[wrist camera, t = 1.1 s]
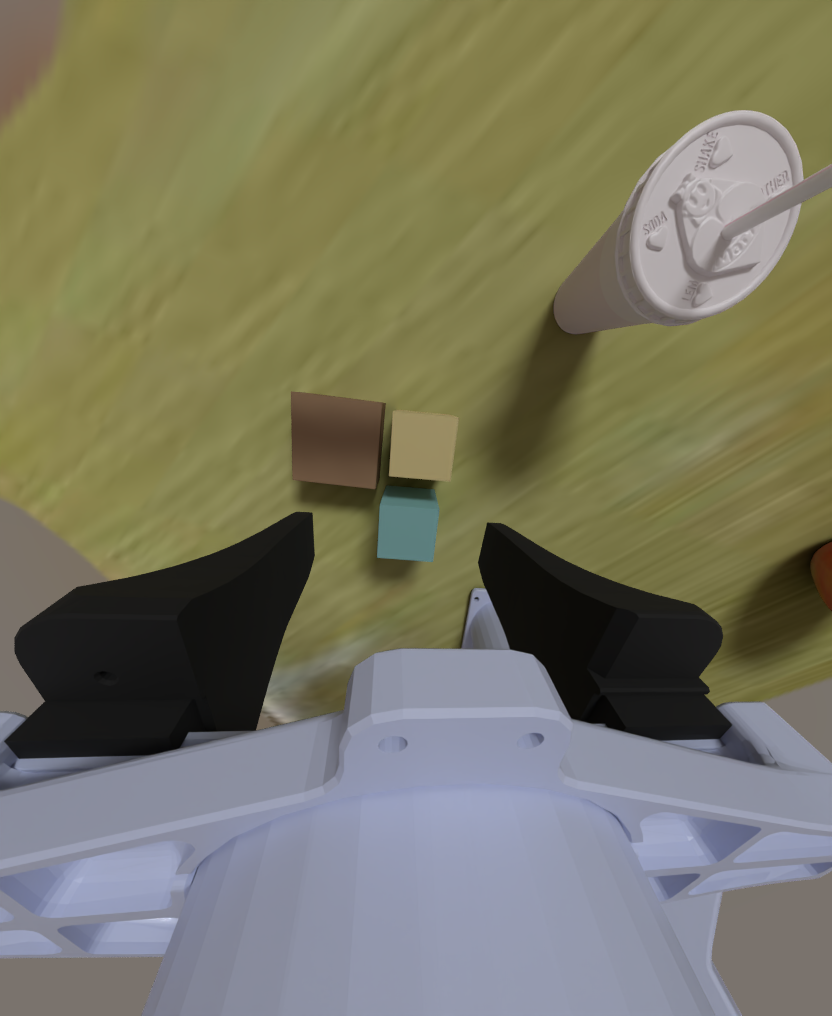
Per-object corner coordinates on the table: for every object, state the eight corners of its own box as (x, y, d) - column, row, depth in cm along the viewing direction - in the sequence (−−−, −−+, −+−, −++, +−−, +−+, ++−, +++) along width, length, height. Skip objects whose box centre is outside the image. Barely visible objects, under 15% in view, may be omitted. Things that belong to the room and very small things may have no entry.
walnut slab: (379, 479, 25) (375, 489, 22) (306, 470, 24) (292, 479, 22) (385, 403, 23) (381, 403, 20) (306, 392, 22) (290, 391, 20)
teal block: (429, 533, 26) (432, 561, 21) (383, 529, 26) (377, 557, 21) (434, 489, 25) (439, 509, 20) (386, 485, 25) (379, 504, 20)
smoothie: (582, 374, 22) (841, 330, 9) (514, 320, 21) (692, 173, 7) (648, 286, 20) (1101, 63, 7) (578, 221, 19) (959, -200, 6)
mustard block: (443, 466, 24) (450, 481, 19) (394, 461, 24) (389, 476, 19) (449, 414, 23) (458, 417, 18) (397, 409, 23) (392, 411, 18)
